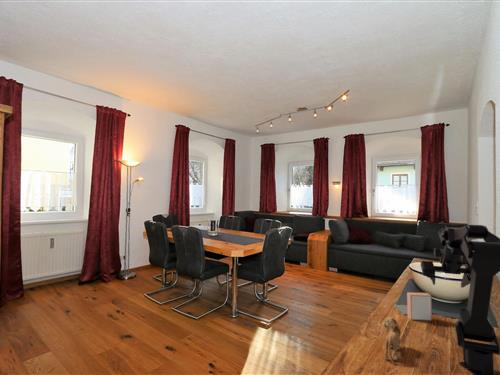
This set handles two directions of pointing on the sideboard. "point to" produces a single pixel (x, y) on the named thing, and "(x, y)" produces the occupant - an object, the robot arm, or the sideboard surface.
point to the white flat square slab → (402, 309)
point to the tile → (419, 306)
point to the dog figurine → (392, 337)
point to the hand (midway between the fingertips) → (447, 285)
